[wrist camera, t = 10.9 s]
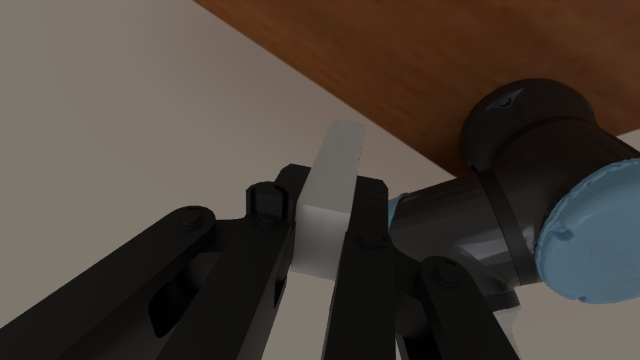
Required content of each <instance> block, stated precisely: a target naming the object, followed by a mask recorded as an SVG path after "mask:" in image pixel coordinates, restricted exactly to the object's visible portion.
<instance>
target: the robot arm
mask: <svg viewBox="0 0 640 360" xmlns="http://www.w3.org/2000/svg"><path fill="white" fill-rule="evenodd" d="M364 129H365V125H363V124H357V123H351V122H345V121H340V120H335V119H332V121H331V123H330V125H329V128H328V130H327V133H326V135H325V137H324V140H323V142H322V144H321V147H320V149H319V152H318V154H317V157H316V159H315V161H314V163H313V166H312V167H306V166H301V165H296V164H289V165H288V166H286V167H284V168H283V169H282V170H281V171H280V173H279V175H278V176H277V178H276V180H275V181H274V182H270V181H266V182H259V183H256V184H254V185H251V186H250V187H249V188H248V189H247V190H246V215H245V217H244V218H241V219H232V220H216V218H215V215H214V213H213V211H211V210H209V209H208V208H206V207H201V206H187V207H182V208H179V209H177V210H175V211H173V212H171V213H169V214H168V215H166V216H165V217H163V218H162V219H161V220H159V221H157V222H156V223H155V224H153V225H152V226H150V227H149V228H147V229H146V230H144V231H143V232H142V233H140V234H138V235H137V236H135V237H134V238H133V239H131V240H130V241H128V242H127V243H125V244H124V245H122V246H121V247H119V248H118V249H116V250H115V251H114V252H112V253H111V254H109V255H108V256H106V257H105V258H103V259H102V260H100V261H99V262H97V263H96V264H94V265H93V266H92V267H90V268H89V269H87V270H86V271H84V272H83V273H81V274H80V275H78V276H77V277H76V278H74V279H72V280H71V281H70V282H68V283H67V284H65V285H64V286H62V287H61V288H59V289H58V290H56V291H55V292H53V293H52V294H50V295H49V296H48V297H46V298H45V299H43V300H42V301H40V302H39V303H37V304H36V305H34V306H33V307H31V308H30V309H29V310H27V311H26V312H24V313H23V314H21V315H20V316H18V317H17V318H15V319H14V320H12V321H11V322H9V323H8V324H7V325H5V326H4V327H2V328H1V329H0V360H261V358H262V355H263V352H264V349H265V346H266V343H267V340H268V337H269V334H270V332H271V329H272V326H273V322H274V320H275V317H276V314H277V311H278V308H279V305H280V302H281V299H282V296H283V293H284V290H285V287H286V281H287V273H288V270H289V267H290V264H291V271H294V272H298V273H303V274H307V275H311V276H316V277H320V278H325V279H329V280H333V281H335V286H334V291H333V295H332V300H331V305H330V310H329V311H330V312H329V317H328V323H327V329H326V335H325V340H324V345H323V351H322V356H321V360H396V342H395V337H396V341H397V345H398V348H399V352H400V356H401V360H522V359H521V356H520V354H519V351H518V348H517V345H516V343H515V340H514V337H513V334H512V325H513V324H514V322H515V320H516V318H517V316H518V314H519V312H520V310H521V305H520V303H519V300H518V297H517V295H516V293H515V290H514V288H515V287H517V286H521V285H527V284H533V283H540V282H544V283H546V285H547V286H548V287H550V288H551V289H553V290H554V291H555V292H557V293H558V294H559V295H561V296H563V297H565V298H568V299H571V300H576V299H579V300H580V301H581V302H583V303H592V304H604V303H614V302H619V301H625V300H629V299H633V298H636V297H639V296H640V152H639V151H638V150H636V149H634V148H633V147H631V146H630V145H628V144H626V143H625V142H623V141H622V140H620V139H618V138H617V137H615V136H614V135H612V134H610V133H609V132H607V131H606V130H604V129H602V128H601V127H599V126H598V124H597V122H596V119H595V115H594V112H593V109H592V107H591V105H590V104H589V103H588V101H587V100H586V99H585V98H584V97H583V96H582V95H581V94H580V93H578V92H577V91H575V90H574V89H572V88H570V87H568V86H566V85H564V84H562V83H560V82H557V81H553V80H549V79H526V80H521V81H517V82H513V83H510V84H508V85H505V86H503V87H501V88H499V89H497V90H495V91H493V92H492V93H490V94H489V95H488V96H486V97H485V98H484V99H482V100H481V101H480V102H479V103H478V104H477V105H476V106H475V107H474V109H473V110H472V111H471V112H470V114H469V115H468V117H467V119H466V121H465V123H464V125H463V128H462V131H461V135H460V149H461V154H462V156H463V159H464V161H465V163H466V165H467V167H468V169H469V170H470V171H471V174H468V175H465V176H462V177H459V178H456V179H453V180H449V181H446V182H443V183H440V184H437V185H434V186H431V187H428V188H424V189H421V190H418V191H415V192H412V193H403V194H400V195H399V196H398V197H397V198H394V199H391V200H388V188H387V186H386V185H385V183H384V182H383V180H379V179H373V178H368V177H363V176H358V175H357V172H358V166H359V160H360V153H361V147H362V141H363V135H364Z"/></svg>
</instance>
